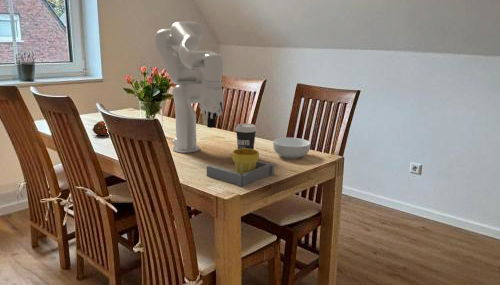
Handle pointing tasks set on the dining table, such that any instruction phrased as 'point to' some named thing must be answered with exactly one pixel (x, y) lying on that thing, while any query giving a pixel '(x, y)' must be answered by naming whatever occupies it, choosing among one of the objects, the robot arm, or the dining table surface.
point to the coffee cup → (245, 135)
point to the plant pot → (245, 159)
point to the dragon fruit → (100, 128)
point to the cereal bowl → (291, 147)
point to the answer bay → (241, 179)
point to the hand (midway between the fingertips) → (211, 127)
